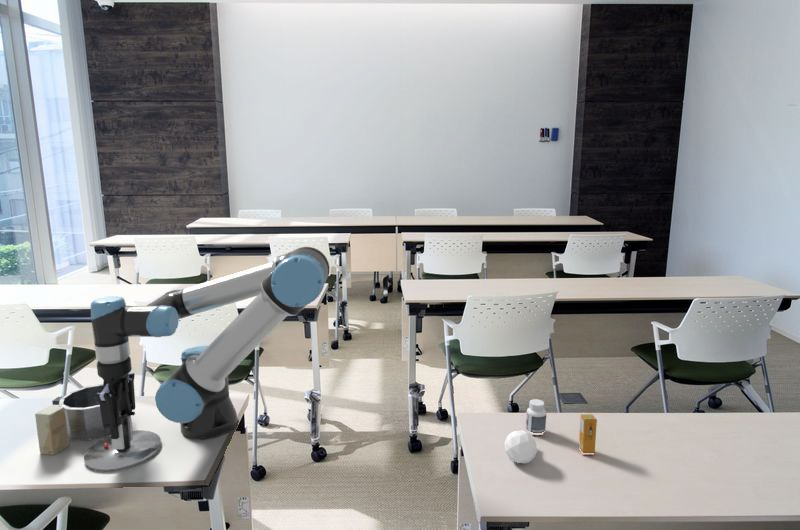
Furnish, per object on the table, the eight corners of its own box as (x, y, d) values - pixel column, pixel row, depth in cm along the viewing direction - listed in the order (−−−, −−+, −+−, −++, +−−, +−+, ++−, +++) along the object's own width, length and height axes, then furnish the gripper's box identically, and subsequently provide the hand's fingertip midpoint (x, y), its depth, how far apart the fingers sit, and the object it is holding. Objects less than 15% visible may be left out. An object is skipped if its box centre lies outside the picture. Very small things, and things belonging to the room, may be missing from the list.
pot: (148, 412, 157) (145, 384, 155) (119, 440, 141) (115, 409, 139) (76, 411, 157) (72, 383, 155) (39, 439, 141) (34, 408, 140)
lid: (172, 434, 144) (169, 400, 142) (140, 472, 127) (136, 433, 125) (109, 433, 145) (105, 399, 143) (68, 471, 127) (63, 432, 125)
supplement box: (590, 448, 138) (593, 413, 136) (594, 455, 135) (597, 420, 133) (577, 448, 138) (580, 413, 136) (581, 455, 135) (584, 419, 133)
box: (53, 455, 134) (47, 415, 132) (39, 453, 135) (33, 414, 133) (70, 444, 139) (64, 406, 137) (56, 443, 140) (50, 404, 138)
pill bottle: (549, 433, 146) (551, 403, 144) (536, 438, 143) (538, 408, 141) (534, 425, 150) (536, 396, 148) (521, 430, 147) (523, 401, 145)
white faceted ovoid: (495, 451, 130) (503, 433, 141) (521, 476, 128) (527, 456, 139) (515, 430, 128) (522, 414, 139) (542, 454, 126) (546, 436, 137)
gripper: (116, 346, 139) (125, 427, 144) (78, 371, 123) (89, 462, 127) (144, 347, 139) (152, 428, 143) (109, 371, 123) (119, 462, 127)
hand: (122, 443), depth 135 cm, fingers closed on lid, 3 cm apart
